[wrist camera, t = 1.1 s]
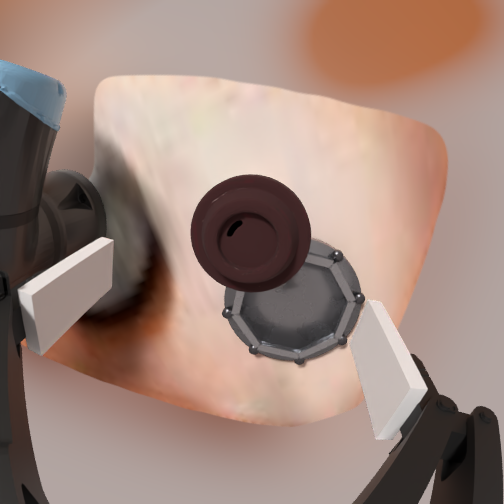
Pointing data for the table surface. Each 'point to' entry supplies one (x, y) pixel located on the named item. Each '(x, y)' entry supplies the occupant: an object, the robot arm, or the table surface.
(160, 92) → the table surface
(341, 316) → the grey flat octagonal tray
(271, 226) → the coffee cup
